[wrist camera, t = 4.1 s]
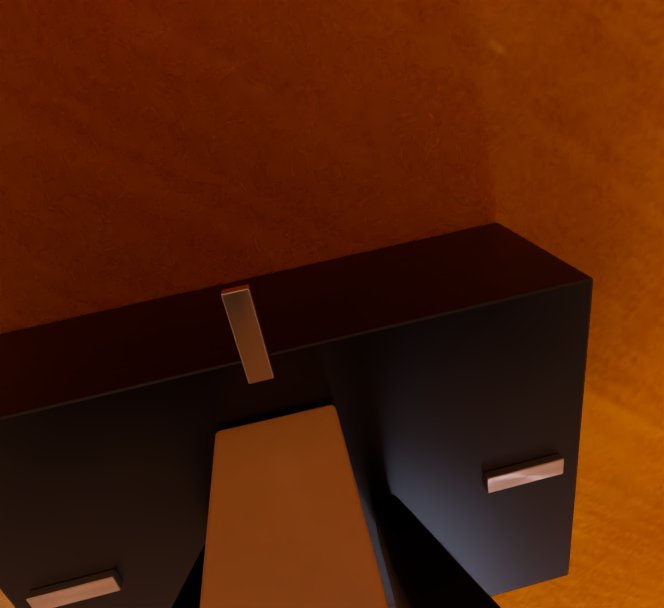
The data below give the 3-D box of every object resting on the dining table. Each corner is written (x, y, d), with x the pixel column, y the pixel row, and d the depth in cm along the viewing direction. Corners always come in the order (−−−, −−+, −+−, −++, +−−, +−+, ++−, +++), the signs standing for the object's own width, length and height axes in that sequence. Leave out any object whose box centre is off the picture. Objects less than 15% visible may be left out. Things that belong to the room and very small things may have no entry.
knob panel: (144, 593, 13) (113, 743, 10) (-39, 282, 8) (-185, 386, 6) (502, 498, 13) (571, 613, 10) (496, 166, 9) (608, 206, 6)
